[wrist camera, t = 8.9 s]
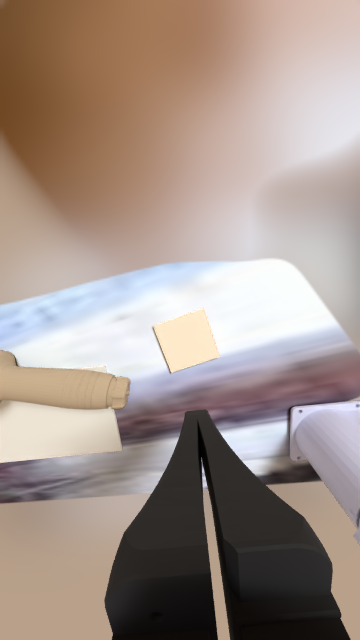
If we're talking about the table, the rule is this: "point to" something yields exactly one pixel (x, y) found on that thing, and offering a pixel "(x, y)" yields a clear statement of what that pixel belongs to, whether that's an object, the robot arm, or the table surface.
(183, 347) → the beige tile
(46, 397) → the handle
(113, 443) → the felt mat
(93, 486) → the table surface
